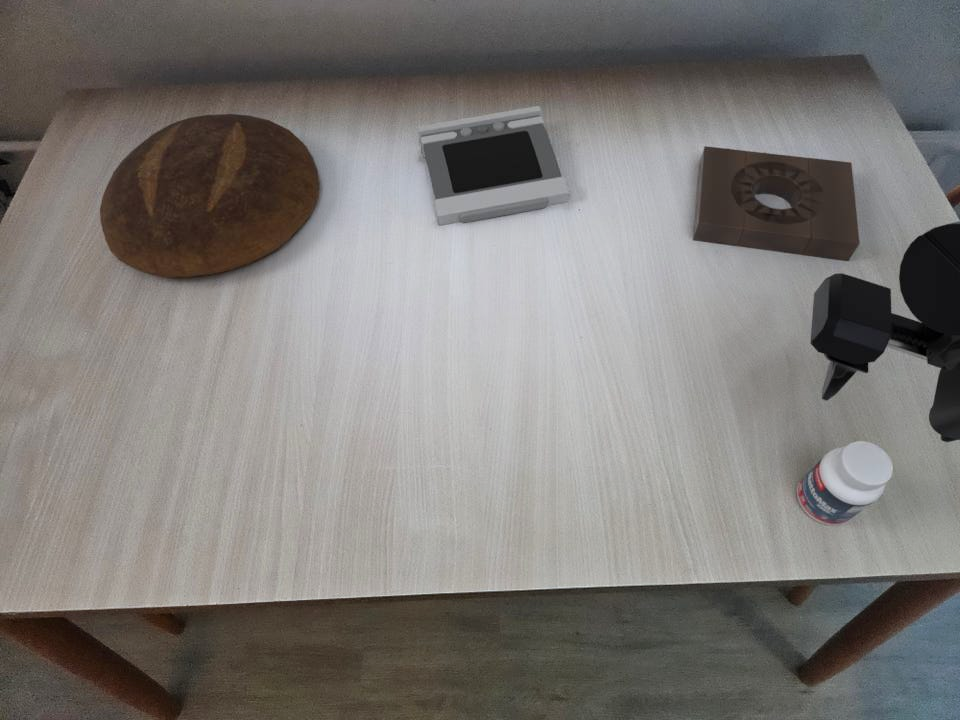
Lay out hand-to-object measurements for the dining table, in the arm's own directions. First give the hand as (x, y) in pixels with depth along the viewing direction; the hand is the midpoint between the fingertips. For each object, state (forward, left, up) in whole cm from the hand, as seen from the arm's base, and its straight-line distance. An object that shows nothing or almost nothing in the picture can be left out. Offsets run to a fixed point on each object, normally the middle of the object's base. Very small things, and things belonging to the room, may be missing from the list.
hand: (882, 415), depth 50 cm
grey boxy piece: (+40, -36, -14) cm, 56 cm away
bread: (+75, -23, -14) cm, 80 cm away
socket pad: (+4, -36, -14) cm, 39 cm away
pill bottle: (-1, +2, -14) cm, 14 cm away
